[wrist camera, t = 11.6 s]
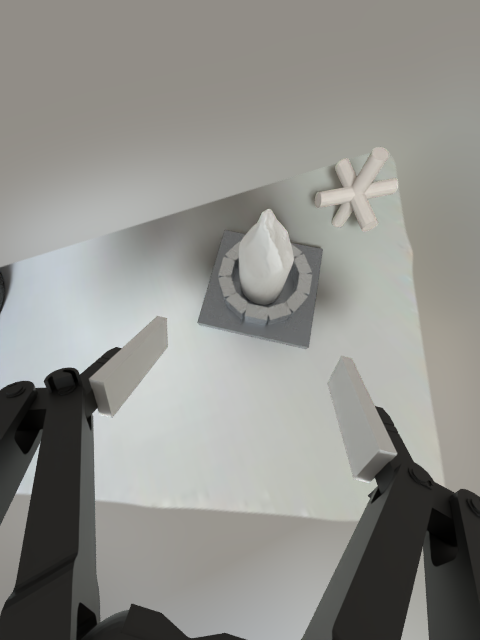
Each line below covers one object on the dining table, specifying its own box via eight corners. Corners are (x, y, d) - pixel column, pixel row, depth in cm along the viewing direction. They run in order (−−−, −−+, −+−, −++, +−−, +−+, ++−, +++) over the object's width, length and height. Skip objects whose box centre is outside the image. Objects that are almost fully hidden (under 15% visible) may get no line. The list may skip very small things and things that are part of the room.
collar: (199, 324, 27) (192, 317, 24) (225, 235, 31) (223, 217, 27) (305, 348, 26) (315, 344, 23) (319, 253, 30) (330, 237, 26)
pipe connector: (296, 201, 33) (319, 127, 23) (357, 190, 33) (405, 113, 23) (316, 257, 30) (352, 200, 20) (382, 244, 30) (447, 182, 21)
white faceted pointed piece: (322, 243, 15) (247, 258, 15) (287, 300, 27) (244, 309, 27) (298, 180, 17) (230, 192, 17) (275, 260, 28) (234, 268, 28)
